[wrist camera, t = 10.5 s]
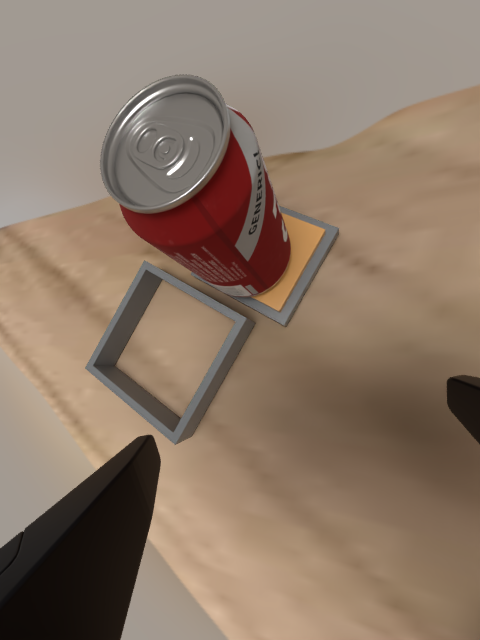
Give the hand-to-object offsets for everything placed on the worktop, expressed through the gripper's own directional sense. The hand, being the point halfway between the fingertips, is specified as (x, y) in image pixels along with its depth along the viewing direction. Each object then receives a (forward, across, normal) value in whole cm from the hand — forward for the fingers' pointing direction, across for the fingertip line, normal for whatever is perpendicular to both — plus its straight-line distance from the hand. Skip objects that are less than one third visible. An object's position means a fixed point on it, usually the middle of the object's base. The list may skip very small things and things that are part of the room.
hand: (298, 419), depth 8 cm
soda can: (+15, 0, -4) cm, 16 cm away
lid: (+16, -1, -4) cm, 17 cm away
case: (+16, +8, +2) cm, 17 cm away
